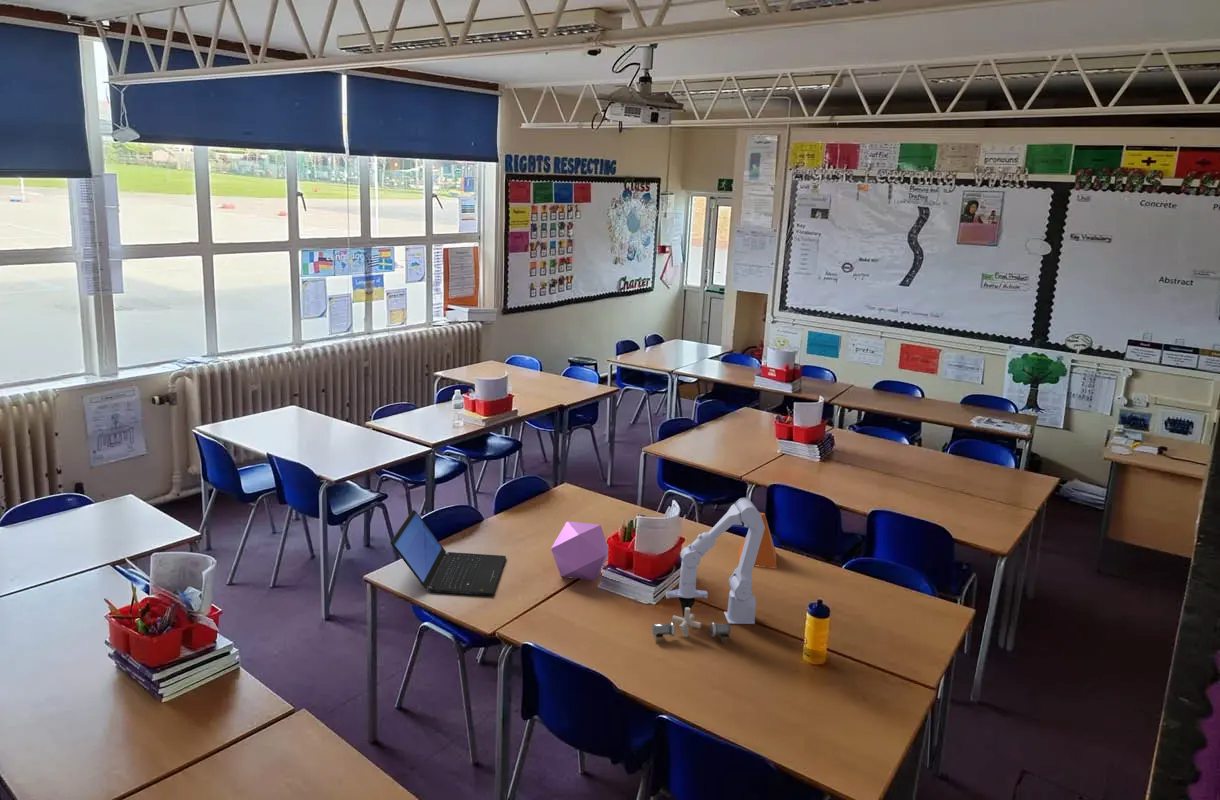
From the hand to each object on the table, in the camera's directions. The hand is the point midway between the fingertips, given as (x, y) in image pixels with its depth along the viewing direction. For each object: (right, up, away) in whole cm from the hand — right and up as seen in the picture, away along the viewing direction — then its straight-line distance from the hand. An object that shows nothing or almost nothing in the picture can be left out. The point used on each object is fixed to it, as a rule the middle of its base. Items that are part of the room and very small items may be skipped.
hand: (684, 615), depth 299 cm
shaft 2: (+11, -5, -12) cm, 17 cm away
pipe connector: (-1, -4, -11) cm, 11 cm away
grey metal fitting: (-9, -4, -14) cm, 17 cm away
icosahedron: (-38, +8, +30) cm, 49 cm away
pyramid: (+35, +10, +53) cm, 64 cm away
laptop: (-87, +9, +24) cm, 91 cm away
